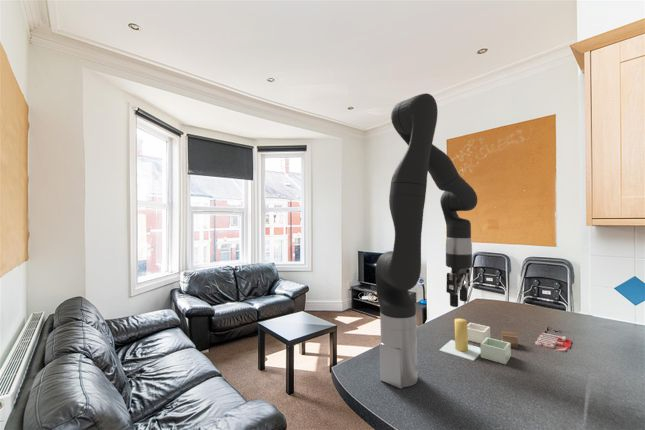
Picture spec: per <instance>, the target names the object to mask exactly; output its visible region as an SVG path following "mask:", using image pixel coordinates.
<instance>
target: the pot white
mask: <svg viewBox="0 0 645 430" xmlns="http://www.w3.org/2000/svg"><path fill="white" fill-rule="evenodd" d="M467 331H468V342H474V343H475V344H481V343H482V342H483V341H484V339H485V338H486V337H488V338H491V327H490V326H487V325H483V324H479V323H473V322H469V323H467Z"/></svg>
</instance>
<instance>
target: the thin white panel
mask: <svg viewBox="0 0 645 430" xmlns="http://www.w3.org/2000/svg"><path fill="white" fill-rule="evenodd" d="M439 352H443V353H445V354H449V355H452V356H455V357H458V358H461V359H465V360H468V361H472V362H474V361H475V360H476V359H477V358H478V357H479V356H481V349H480V347H479V346H476V345H473V344H469V343H468V351H467V352H460V351H457V350H456V349H455V339H450V340H449V341H448V342H447V343H446V344H445V345H443V346H442V347H441V348H439Z"/></svg>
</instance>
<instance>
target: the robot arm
mask: <svg viewBox="0 0 645 430" xmlns="http://www.w3.org/2000/svg"><path fill="white" fill-rule="evenodd" d="M438 113H439V112H438V104H437V100H436V99H435V97H434V96H433V95H432V94H430V93H421V94H417V95H415V96H412V97H410V98H407V99H405V100H402V101H400V102H398V103H396V104H395V105H394V106H393V108H392V109H391V113H390V121H391V123H392V126H393V128H394V129H395V131H396V132H397V134H398V135H399V136H400V137H401V139H402V140H403V141H404V142H405V143H406V144H407V150H406V151H405V153H404V155H403V156H402V159H401V160H400V161H399V163H398V164H397V166H396V168H395V170H394V171H393V174H392V176H391V179H390V188H389V197H388V201H389V203H388V205H389V211H390V214H391V219H392V223H393V227H394V228H393V229H394V241H393V242H394V243H393V248H392V249H393V250H391V251H385V252H383V253H382V254H381V255H380V256H379V257H378V259H377V261H376V265H375V284H376V285H375V288H376V298H377V299H376V300H377V302H378V304H379V314H380V315H379V317H380V320H379V321H380V343H379V377H380V381H382V382H384V383H386V384H389V385H391V386H393V387H396V388H398V389H400V390H402V389H403V388H407V387H412V386H414V385H416V384H417V382H418V376H419V375H418V349H417V348H418V345H417V344H418V343H417V342H418V341H417V312H416V311H417V309H416V307H417V305H416V303H415V301H414V300H413V298H412V297H411V295H410V293H409V291H410V290H412V289H413V288H415V287H416V286H417V284H418V283H419V280H420V277H421V274H422V273H421V272H422V232H423V231H422V230H423V221H424V211H425V210H424V209H425V203H426V195H427V185H428V173H429V175H430V176H431V179H432V180H433V182H434V184H435V186H436V187H437V189H439V190H440V191H443V193H442V194H441V195H440V207H441V211H442V214H443V217H444V222H445V224H446V241H445V266H446V267H447V268H451V270H450V272H447V273H446V289H445V290H446V293H448V294H449V306H450V307H454V308H458V307H459V301H461V302H468V300H469V299H468V297H469V296H468V295H469V294H468V290H469V288H470V287H471V269H472V268H473V243H472V223H471V221H470V220H469V219H467V218H463V217H460V216H459V214H458V212H468V211H469V212H470V211H472V210H474V209H475V208H476V206H477V204H478V194H477V192H476V191H475V189H474V188H473V187H472V186H471V184H469V183H468V182H467V181H466V180H465V179H464V178H463V177H462V176H461V175H460V174H459V172H458V170H457V168H456V166H455V164H454V162H453V161H452V159H451V158H450V156H448V155H447V154H446V152H444V151H442V150H441V149H440V148H439V147H437V146H436V145H435V144H433V141H434V137H435V131H436V126H437V122H438V115H439V114H438Z"/></svg>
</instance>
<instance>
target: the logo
mask: <svg viewBox="0 0 645 430" xmlns="http://www.w3.org/2000/svg"><path fill="white" fill-rule="evenodd" d="M548 330H549V327H548V326H547V327H545V330H543V332H541V334H539V336H538V338H537V339H536V340H537V341H536V340H535V343H534V344H535V345H537V346H539V347H542V345H543V348H547V349H554V348H555V347H557V349H554V352H555V351H556V352H560V353H563V352H567V350H570V348H571V346H572V344H573V342H572V340H571V339H570V338H567V336H566V335H565V336H563V335H562V336H560V335H554V334H551V333H545V331H548ZM553 331H555V332H554V333H557V332H559V334H561V332H562V330H560V329H558V330H554V329H552V330H551V332H553ZM565 342H566V343H565ZM571 343H572V344H571Z"/></svg>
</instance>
